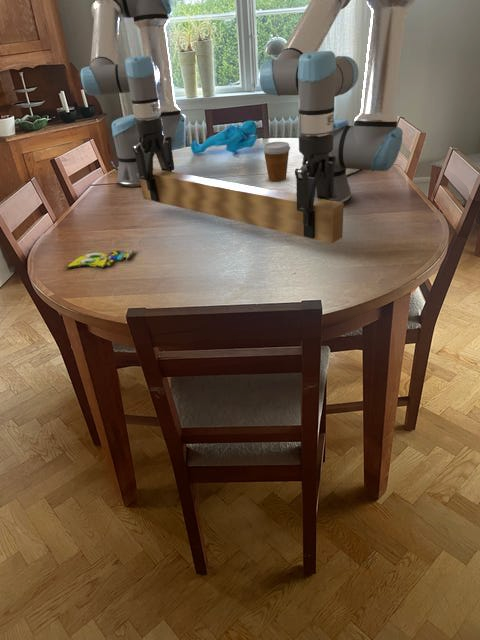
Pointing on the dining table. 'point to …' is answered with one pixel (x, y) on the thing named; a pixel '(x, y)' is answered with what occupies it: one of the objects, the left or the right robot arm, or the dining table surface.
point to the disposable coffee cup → (276, 160)
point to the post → (246, 204)
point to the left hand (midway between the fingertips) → (161, 197)
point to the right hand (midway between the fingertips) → (315, 232)
